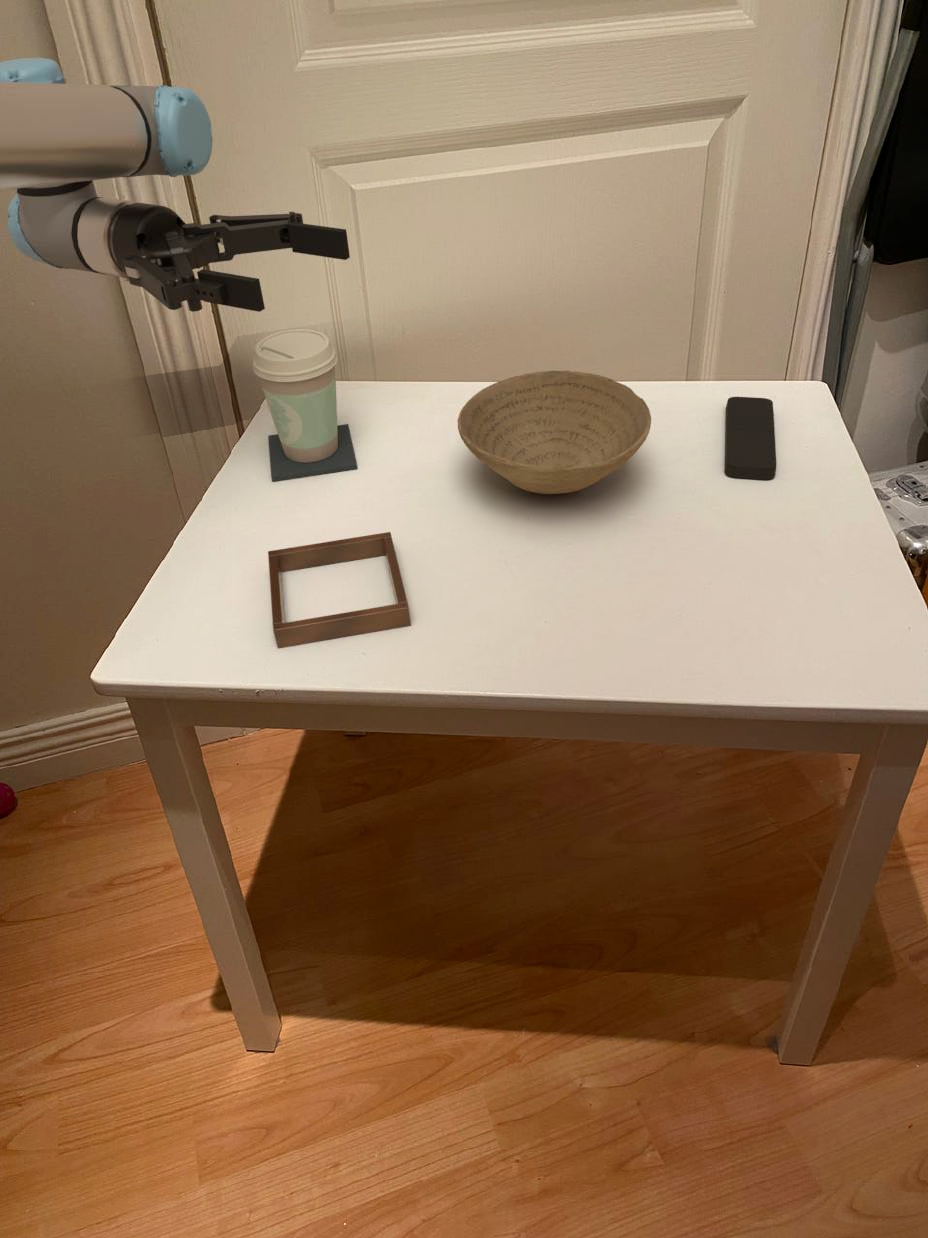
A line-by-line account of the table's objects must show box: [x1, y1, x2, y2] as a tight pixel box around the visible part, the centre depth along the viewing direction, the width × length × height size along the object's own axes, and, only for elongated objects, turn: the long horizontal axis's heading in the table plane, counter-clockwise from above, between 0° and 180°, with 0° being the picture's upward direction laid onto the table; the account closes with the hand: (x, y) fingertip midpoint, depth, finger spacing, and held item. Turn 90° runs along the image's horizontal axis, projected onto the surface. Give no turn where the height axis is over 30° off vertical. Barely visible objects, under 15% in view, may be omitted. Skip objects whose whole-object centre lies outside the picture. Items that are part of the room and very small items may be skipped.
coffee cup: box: [252, 328, 338, 463], centre depth 98 cm, size 8×8×12 cm
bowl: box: [457, 370, 652, 495], centre depth 92 cm, size 18×18×8 cm
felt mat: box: [267, 423, 358, 482], centre depth 102 cm, size 9×9×1 cm
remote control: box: [724, 396, 777, 481], centre depth 98 cm, size 5×2×15 cm
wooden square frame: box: [267, 531, 412, 649], centre depth 82 cm, size 11×11×2 cm
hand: (305, 268), depth 87 cm, fingers open, 13 cm apart
